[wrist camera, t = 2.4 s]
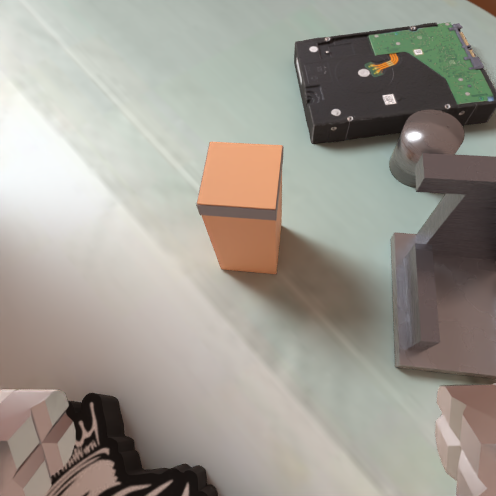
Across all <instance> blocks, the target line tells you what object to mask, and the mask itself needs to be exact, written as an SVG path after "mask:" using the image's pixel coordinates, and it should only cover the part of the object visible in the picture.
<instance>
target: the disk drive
mask: <svg viewBox="0 0 496 496" xmlns="http://www.w3.org/2000/svg"><path fill="white" fill-rule="evenodd" d="M461 28H462V26H461V25H460V24H453V25H451V24H450V23H442V24H437V23H428V24H422V25H417V26H413V27H412V26H411V27H409V26H408V27H402V28H393V29H385V30H377V31H369V32H362V33H355V34H348V35H339V36H333V37H332V36H331V37H324V38H314V39H309V40H304V41H297V42H295V54H294V64H295V68H296V72H297V78H298V83H299V87H300V92H301V97H302V102H303V107H304V111H305V116H306V121H307V126H308V129H309V133H310V139H311V143H312V144H316V143H325V142H338V141H344V140H347V139H357V138H363V137H372V136H380V135H387V134H396V133H401V132H402V130H403V127H404V125H405V122H406V120H407V119H408V118H409V117H410V116H411V115H412V114H414V113H416V112H418V111H422V110H439V111H443V112H446V113H448V114H450V115H452V116H453V117H455V118H456V119H457V120H458V121H459V122H460V124H461V125H462V126H464V125H469V124H478V123H485V122H487V121H488V120H489V118H490V117H491V116H492V114H493V113H494V111H495V110H496V90H495V89H494V87H493V85H492V83H491V81H490V79H489V77H488V75H487V73H486V72H485V70H484V69H483V68H484V66H483V64H482V62H481V60H480V59H479V57H475V55H474V53H473V51H472V48H470V47H471V46H470V45H469V43H468V42H467V40H466V38H465V36H464V34H463V32H460V29H461ZM468 48H470V49H468Z"/></svg>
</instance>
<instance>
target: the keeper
mask: <svg viewBox="0 0 496 496" xmlns="http://www.w3.org/2000/svg"><path fill="white" fill-rule="evenodd" d="M415 179H416V192H430V193H446V194H445V196H444V197H443V198H442V200H441V201H440V203H439V204H438V205H437V207H436V208H435V210H434V211H433V212H432V214H431V215H430V217H429V218H428V219H427V221H426V222H425V224H424V225H423V226H422V228H421V229H420V230H419V232H418V233H417V234H406V233H394V234H393V236H392V238H391V263H392V292H393V321H394V350H395V367H398V368H407V369H415V370H424V371H433V372H441V373H450V374H459V375H467V376H476V377H485V378H493V379H496V157H489V156H469V155H449V154H429V153H422V155H421V157H420V159H419V161H418V163H417V164H416V166H415Z"/></svg>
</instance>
